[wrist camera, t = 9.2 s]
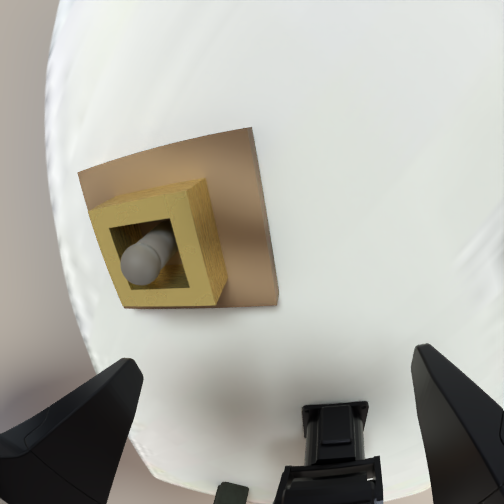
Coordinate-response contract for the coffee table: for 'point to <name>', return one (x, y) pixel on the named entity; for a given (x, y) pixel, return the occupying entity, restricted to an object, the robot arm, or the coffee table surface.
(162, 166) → the brown base plate
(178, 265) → the brass square frame
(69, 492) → the robot arm
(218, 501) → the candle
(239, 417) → the coffee table surface
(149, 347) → the coffee table surface
